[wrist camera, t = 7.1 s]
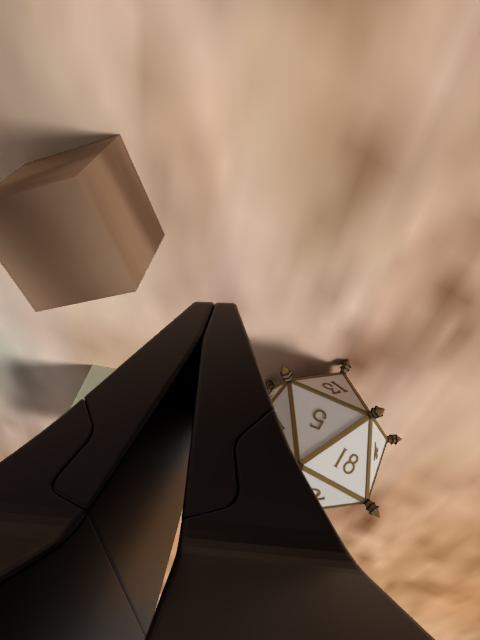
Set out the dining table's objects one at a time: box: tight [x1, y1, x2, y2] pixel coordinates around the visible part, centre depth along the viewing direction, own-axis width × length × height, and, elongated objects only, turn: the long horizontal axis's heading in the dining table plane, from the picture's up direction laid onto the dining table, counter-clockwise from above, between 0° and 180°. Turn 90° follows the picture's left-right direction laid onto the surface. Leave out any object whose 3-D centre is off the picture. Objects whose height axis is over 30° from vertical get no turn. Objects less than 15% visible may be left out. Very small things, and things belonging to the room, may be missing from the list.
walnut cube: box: [0, 134, 165, 312], centre depth 20 cm, size 5×5×5 cm
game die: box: [265, 360, 401, 518], centre depth 25 cm, size 9×8×10 cm
